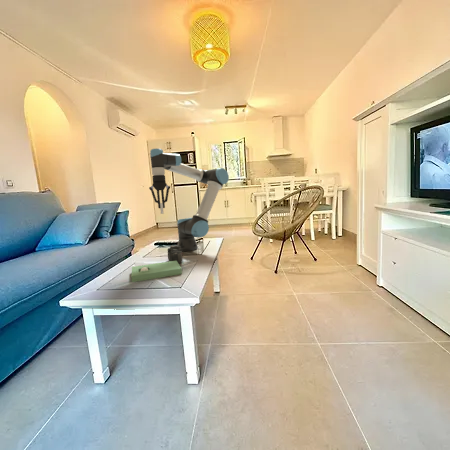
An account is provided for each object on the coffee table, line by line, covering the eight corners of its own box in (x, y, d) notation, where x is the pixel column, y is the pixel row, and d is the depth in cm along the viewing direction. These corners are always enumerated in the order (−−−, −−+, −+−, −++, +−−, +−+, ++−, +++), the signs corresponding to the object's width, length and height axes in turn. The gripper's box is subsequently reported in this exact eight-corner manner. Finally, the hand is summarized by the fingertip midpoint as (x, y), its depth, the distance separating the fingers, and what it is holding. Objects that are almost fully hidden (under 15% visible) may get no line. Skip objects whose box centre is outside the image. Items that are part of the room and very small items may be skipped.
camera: (188, 261, 148) (187, 245, 146) (174, 265, 141) (173, 248, 139) (176, 258, 157) (174, 243, 156) (162, 262, 150) (161, 246, 149)
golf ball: (143, 275, 128) (150, 270, 129) (143, 277, 124) (150, 272, 125) (138, 269, 127) (145, 264, 127) (138, 272, 123) (145, 267, 124)
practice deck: (176, 265, 141) (176, 260, 140) (182, 274, 125) (181, 268, 124) (132, 272, 133) (132, 266, 132) (132, 282, 117) (131, 276, 116)
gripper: (168, 175, 154) (171, 212, 157) (147, 176, 150) (151, 214, 153) (170, 174, 147) (173, 213, 150) (147, 174, 143) (151, 214, 146)
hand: (162, 213), depth 152 cm, fingers closed
